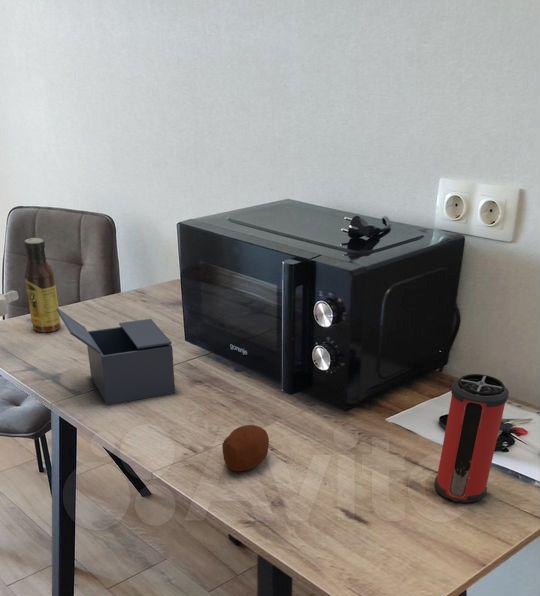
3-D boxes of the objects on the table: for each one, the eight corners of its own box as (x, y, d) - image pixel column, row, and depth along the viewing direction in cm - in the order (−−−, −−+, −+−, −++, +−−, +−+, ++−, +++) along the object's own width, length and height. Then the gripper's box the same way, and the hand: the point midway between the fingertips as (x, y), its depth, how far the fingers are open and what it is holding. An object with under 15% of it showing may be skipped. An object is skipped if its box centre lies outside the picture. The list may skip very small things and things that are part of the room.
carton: (107, 405, 129) (101, 352, 123) (91, 377, 139) (84, 327, 133) (175, 393, 133) (172, 342, 128) (154, 367, 143) (151, 318, 138)
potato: (209, 465, 112) (208, 429, 109) (252, 445, 118) (252, 410, 114) (239, 482, 108) (239, 446, 104) (281, 461, 114) (283, 425, 110)
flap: (101, 352, 123) (100, 354, 123) (85, 327, 133) (84, 329, 133) (71, 332, 119) (70, 333, 119) (57, 307, 129) (56, 309, 129)
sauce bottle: (31, 325, 161) (15, 237, 150) (58, 322, 163) (45, 234, 152) (35, 335, 156) (20, 244, 145) (64, 332, 158) (51, 242, 147)
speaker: (428, 496, 106) (448, 388, 96) (440, 472, 112) (459, 367, 102) (480, 509, 103) (505, 399, 93) (489, 483, 109) (513, 377, 99)
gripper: (-38, 301, 132) (28, 285, 141) (-86, 277, 144) (-23, 264, 153) (-31, 333, 136) (33, 315, 144) (-78, 307, 147) (-17, 292, 156)
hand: (4, 289), depth 149 cm, fingers open, 8 cm apart
